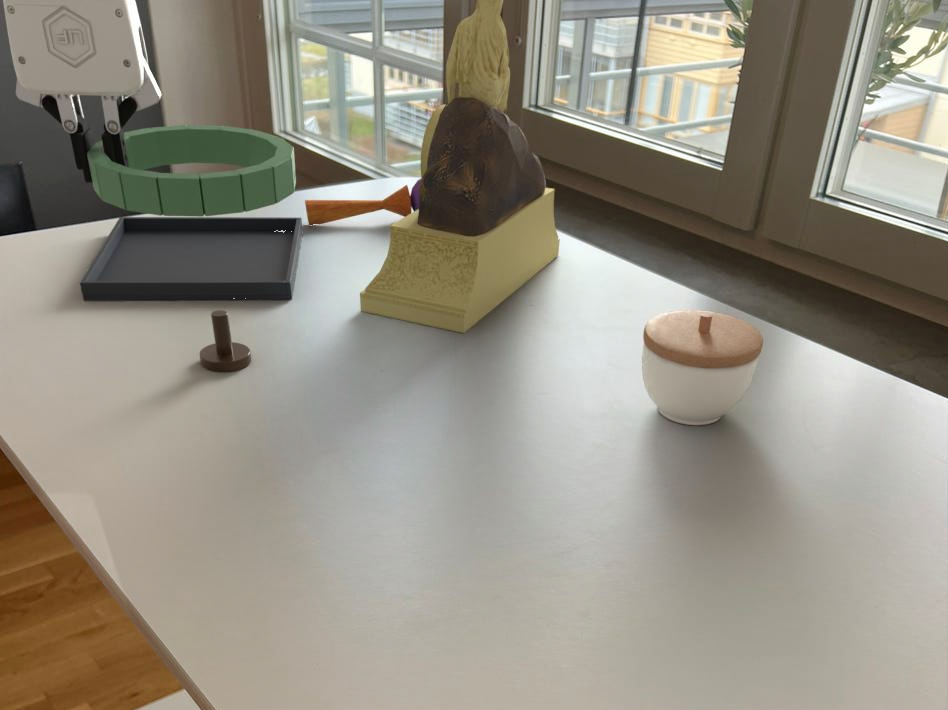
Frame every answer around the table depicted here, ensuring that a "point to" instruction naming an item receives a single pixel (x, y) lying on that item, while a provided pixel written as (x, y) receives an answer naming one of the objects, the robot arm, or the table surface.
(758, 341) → the trinket box
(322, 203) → the kendama
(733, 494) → the table surface
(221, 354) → the peg stand
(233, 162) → the ring
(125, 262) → the tray
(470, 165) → the statue on pedestal
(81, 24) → the robot arm
